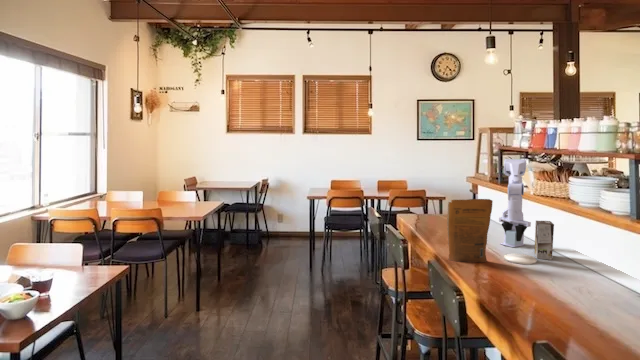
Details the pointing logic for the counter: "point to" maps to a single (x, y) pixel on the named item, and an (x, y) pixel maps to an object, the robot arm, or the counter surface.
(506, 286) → the counter surface
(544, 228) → the coffee box
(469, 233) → the pancake mix bag
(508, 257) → the saucer
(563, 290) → the counter surface
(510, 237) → the block
